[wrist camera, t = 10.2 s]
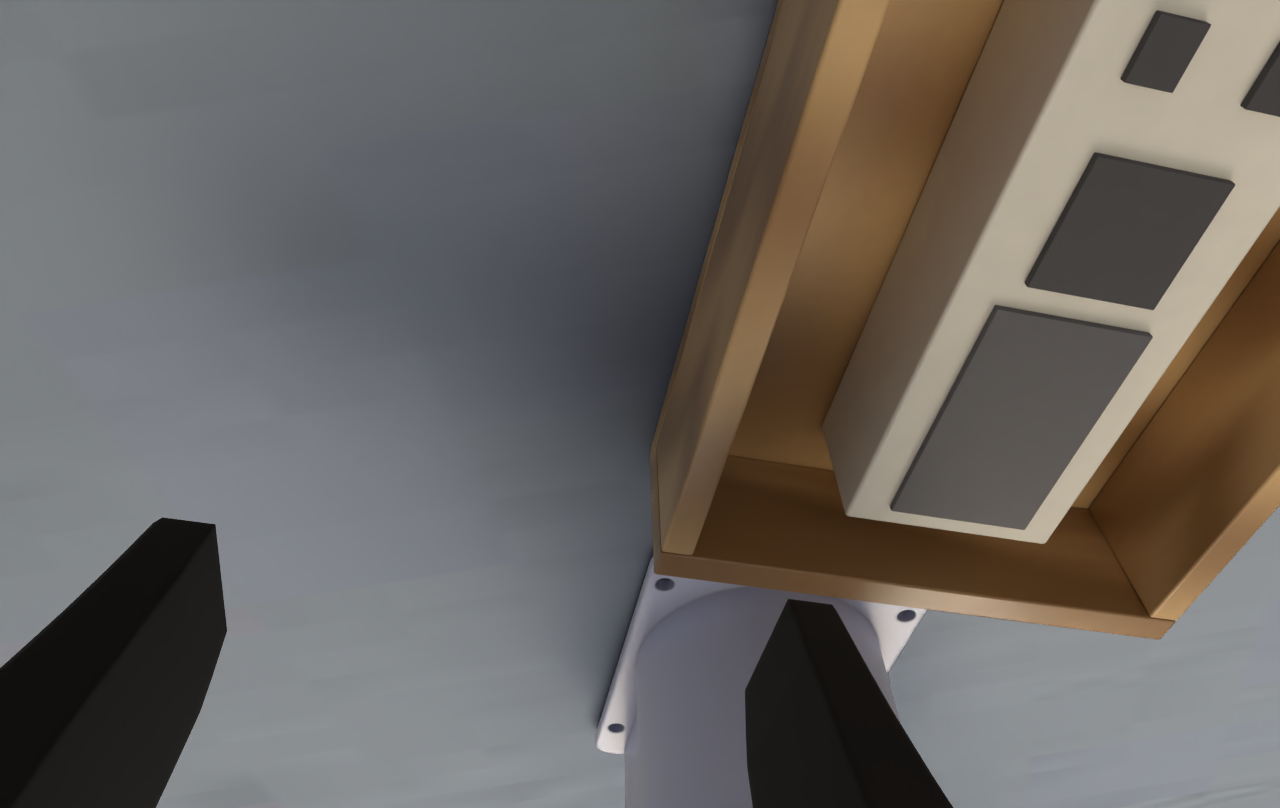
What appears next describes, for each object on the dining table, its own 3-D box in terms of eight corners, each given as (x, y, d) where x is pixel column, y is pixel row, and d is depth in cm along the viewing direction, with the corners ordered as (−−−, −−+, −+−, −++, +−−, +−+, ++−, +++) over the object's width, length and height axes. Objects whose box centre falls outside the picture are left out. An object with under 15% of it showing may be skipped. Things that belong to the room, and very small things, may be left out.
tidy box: (1090, 517, 24) (1160, 641, 21) (649, 451, 22) (653, 575, 19) (1696, -323, 13) (2023, -327, 10) (938, -564, 12) (1052, -658, 9)
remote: (1000, 454, 22) (1048, 551, 20) (820, 426, 21) (845, 522, 19) (1412, -235, 14) (1589, -219, 11) (1136, -315, 13) (1258, -317, 10)
